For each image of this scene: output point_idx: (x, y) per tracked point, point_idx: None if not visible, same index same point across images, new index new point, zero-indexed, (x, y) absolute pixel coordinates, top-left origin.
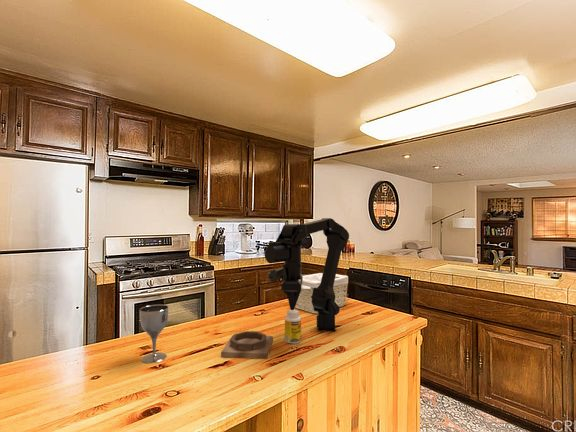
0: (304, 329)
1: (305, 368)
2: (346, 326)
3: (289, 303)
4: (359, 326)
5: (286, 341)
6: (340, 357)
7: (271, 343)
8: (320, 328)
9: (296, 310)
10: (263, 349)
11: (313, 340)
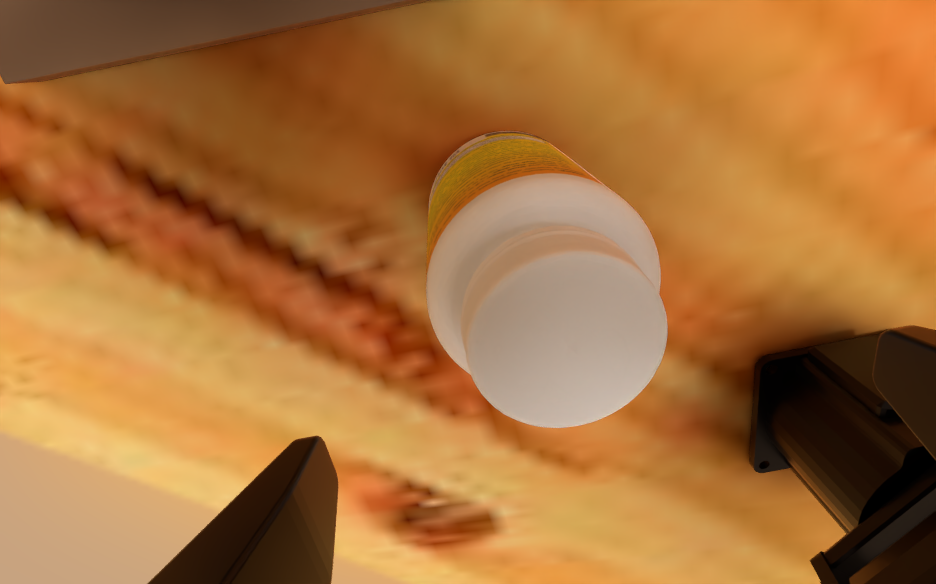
0: (806, 237)
1: (66, 402)
2: None
3: (181, 558)
4: None
5: (447, 160)
6: None
7: (359, 14)
8: (795, 372)
9: (618, 388)
10: (69, 9)
11: None
